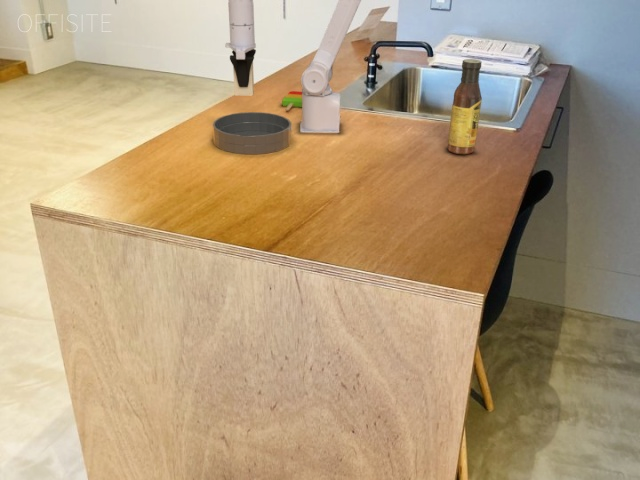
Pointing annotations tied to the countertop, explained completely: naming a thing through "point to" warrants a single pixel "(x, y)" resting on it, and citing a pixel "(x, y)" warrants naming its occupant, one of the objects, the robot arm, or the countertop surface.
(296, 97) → the popsicle
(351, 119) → the countertop surface
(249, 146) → the steel cake pan
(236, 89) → the cream block
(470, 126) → the sauce bottle
